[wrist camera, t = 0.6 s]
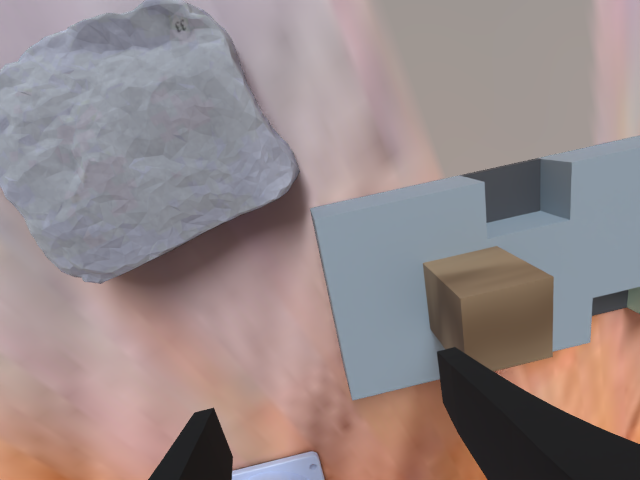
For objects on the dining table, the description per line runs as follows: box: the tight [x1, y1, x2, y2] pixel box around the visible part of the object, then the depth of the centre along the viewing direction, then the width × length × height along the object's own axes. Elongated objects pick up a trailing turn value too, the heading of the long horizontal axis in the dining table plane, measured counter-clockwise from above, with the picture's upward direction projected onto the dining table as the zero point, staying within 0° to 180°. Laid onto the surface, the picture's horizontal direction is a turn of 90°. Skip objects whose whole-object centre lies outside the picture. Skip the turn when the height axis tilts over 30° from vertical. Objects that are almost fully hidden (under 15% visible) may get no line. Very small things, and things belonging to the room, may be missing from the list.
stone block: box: [0, 0, 300, 284], centre depth 16 cm, size 12×5×10 cm
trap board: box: [310, 136, 640, 400], centre depth 19 cm, size 24×11×4 cm, turn 102°
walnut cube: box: [423, 246, 554, 371], centre depth 17 cm, size 4×4×4 cm
